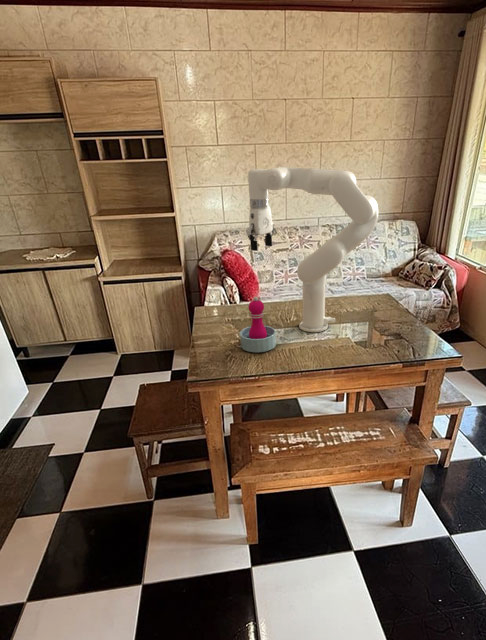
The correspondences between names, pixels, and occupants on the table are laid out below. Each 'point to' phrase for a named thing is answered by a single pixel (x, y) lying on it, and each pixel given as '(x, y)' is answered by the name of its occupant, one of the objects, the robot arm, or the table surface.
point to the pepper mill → (257, 320)
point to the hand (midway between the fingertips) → (261, 248)
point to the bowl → (258, 341)
